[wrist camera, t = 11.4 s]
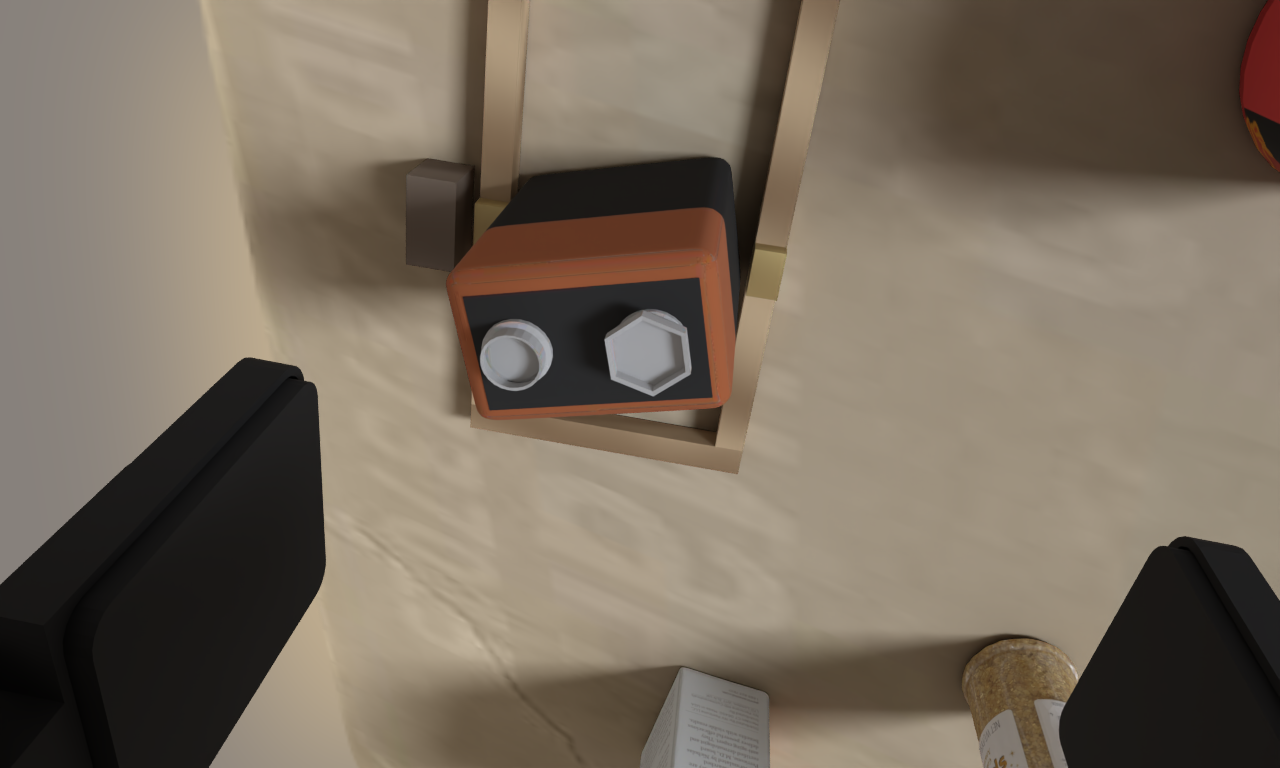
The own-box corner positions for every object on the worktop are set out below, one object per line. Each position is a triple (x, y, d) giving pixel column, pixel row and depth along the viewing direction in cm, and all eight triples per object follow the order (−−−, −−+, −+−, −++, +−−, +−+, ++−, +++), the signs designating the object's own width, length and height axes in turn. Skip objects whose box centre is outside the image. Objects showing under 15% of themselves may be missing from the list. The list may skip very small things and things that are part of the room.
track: (432, -262, 25) (407, -274, 23) (879, -200, 24) (888, -208, 22) (424, 404, 35) (405, 431, 33) (738, 459, 34) (736, 489, 32)
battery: (742, 279, 31) (731, 432, 22) (548, 295, 32) (465, 446, 23) (731, 151, 29) (714, 263, 20) (524, 172, 30) (424, 287, 21)
